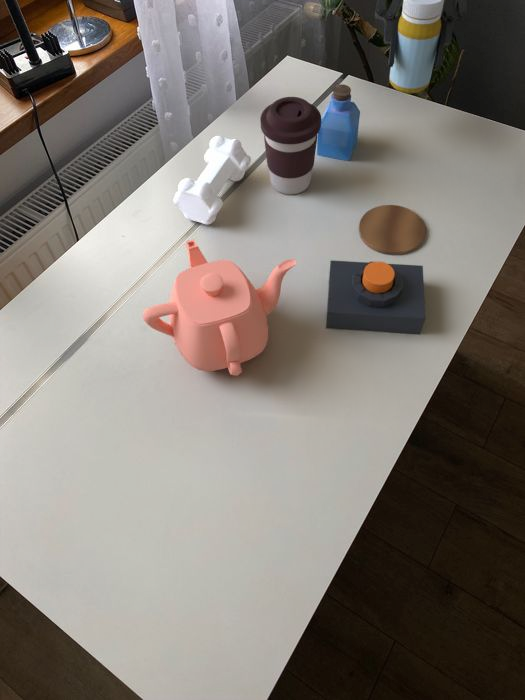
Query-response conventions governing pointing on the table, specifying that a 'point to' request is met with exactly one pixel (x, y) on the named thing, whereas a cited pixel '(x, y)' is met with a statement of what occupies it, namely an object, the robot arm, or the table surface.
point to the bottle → (416, 45)
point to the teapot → (217, 312)
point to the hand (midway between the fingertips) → (414, 65)
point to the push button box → (375, 300)
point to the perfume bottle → (339, 125)
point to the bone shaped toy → (212, 180)
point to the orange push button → (378, 277)
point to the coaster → (392, 230)
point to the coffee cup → (290, 142)
